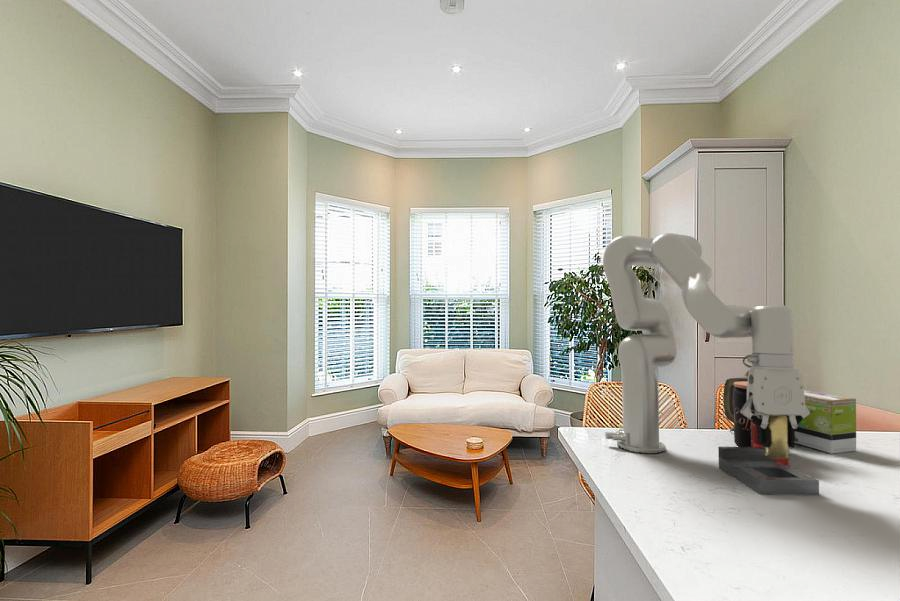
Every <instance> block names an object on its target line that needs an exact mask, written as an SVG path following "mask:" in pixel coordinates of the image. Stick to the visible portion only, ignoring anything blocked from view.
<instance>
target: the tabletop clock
mask: <svg viewBox="0 0 900 601" xmlns="http://www.w3.org/2000/svg"><path fill="white" fill-rule="evenodd" d="M748 356H752V354H747V355H746V356H744V357H743V358H742V364H743V365H744V366H745V367H747V368H749V369H748V370H747V371H746V372H745V374H744V376H743V377H731V378H727V379H726V380H725V383H724V386H723V410H724V414H725V417H726V419H727V420H728V421H730V422H731V423H733V424H734V391H735V389H736V388H735V386H734V382H741V381H748V375H749V370H750V367H753V365H752V364H751V365H749V364H747V363H746V362H745V361H746V360H747V357H748ZM729 431H730V432H731V431H734V427H731V428H730V429H729Z"/></svg>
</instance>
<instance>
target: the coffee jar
mask: <svg viewBox="0 0 900 601" xmlns="http://www.w3.org/2000/svg"><path fill="white" fill-rule="evenodd" d="M734 386H735V388H736V389H735V391H734V423H733V428H734V433H733V435H734V438H733V439H734V440H733V442H734V444H735V445H736V447H737V446H738V447H751V421H750V420H749V419H748V418H747V417H746V416H744V415H743V414H741V413H740V410H741V409H742V407H743V406H744V404H745V403H746V402H747V381H741V382H734ZM751 413H753V414H754V415H755V413H756V412H753V411H751Z"/></svg>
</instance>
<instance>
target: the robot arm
mask: <svg viewBox="0 0 900 601" xmlns="http://www.w3.org/2000/svg"><path fill="white" fill-rule="evenodd" d="M702 249H703V248H702V245H701V243H700V242H699V241H698V240H697V239H696V238H695V237H693V236H691V235H687V234H679V233H663V234H660V235H659V236H656V237H654V238H652V237H645V236H639V235H621V236H620V235H619V236H617V237H615V238H614V239H612V240H611V241H610V242H608V244H607V246H606V248H605V250H604V252H603V258H602V266H603V271H604V274H605V277H606V280H607V283H608V287H609V290H610V295H611V301H612V305H613V310H614V315H615V320H616V323H617V324H618V326H619V327H620V328H621V329H623V330H626V331H633V332H634V331H635V332H637V331H638V332H639V331H641V332H642V334H633V335H629V336H626V337H625V338H624V339H622V340H621V341H620V343H619V346H618V351H617V352H618V353H617V354H618V355H617V356H618V359H619V360H618V361H619V365H620V372H621V391H622V392H621V393H622V394H621V395H622V398H621V399H622V428H619V430H617V431H616V432H612V431H606V432H605V433H604V434H605V435H604V437H605V439H606V440H612V441H616V445H617V446H618V447H619V446H620V447H621V448H620V447H619V448H620V449H622V448H624V449H623V450H625V449H626V450H625V451H628V450H629V452H633V451H634V452H633V453H639V452H641V453H640V454H657V453H658V452H659V453H663V452H665V450H666V444H664V443H663V442H661V441H660V409H659V408H660V407H659V406H660V405H659V404H660V403H659V402H660V401H659V381H658V377H657V375H656V372H655V369H654V368H663V367H666V366H669V365H671V364H672V363H673V362H674V361H675V360H676V357H677V343H676V338H675V335H674V331H673V326H672V323H671V319H670V315H669V312H668V310H667V309H666V306H665V305H664V304H663V303H662V302H661V301H660V300H658V299H655V298H647V297H645V295H644V293H643V290H642V285H641V281H640V279H639V277H638V275H637V274H636V273H635V271H634V270H633V268H632V267H634V266H635V267H645V268H649V267H650V268H661V269H663V271H664V272H665V273H666V274H667V276H669V277H670V278H671V280H672V281H673V282H674V284H676V285H677V287H679V289H680V290H681V295H682V300H683V303H684V305H685V308H686V309H687V311H688V314H690V316H691V317H692V318H693V319H694V320H695V321H696V323H697V324H698V325H699V326H700V327H701V328H702V329H703V330H704V331H705V332H706V333H708V334H709V335H711V336H713V337H714V338H719V339H731V338H732V339H733V338H735V339H739V338H741V339H742V338H750V337H751V355H752V356H748V357H747V358H746V360H747V363H750V364H751V366H752V365H753V367H750V368H749V369H748V370H749V375H748V381H747V402H746V403H745V404H744V406H743V407H742V409H741V410H740V413H741V414H743V415H744V416H746V417H747V418H748V419H749V420H750V421H751V422H753V423H754V425H755V426H757V441H758V444H759V445H762V446H764V447H770V430H769V429H768V428H767V423H768V418H769V415H787V419H788V445H789V448H795V443H794V442H795V429H796V428H797V427H798V426H797V425H798V424H799V423H800V422H801V421H802V419H803V418H805V417H806V416H808V415H809V414H810V411H809V410H808V409H807V407H806V406H805V396H804V390H805V389H804V384H803V379H802V377H801V374H800V371H799V370H800V369H799V368H796V367H795V359H794V358H795V355H794V352H795V351H794V334H793V333H794V332H793V330H794V328H793V313H792V310H791V307H789V306H788V305H787V306H786V305H783V304H781V305H778V304H776V305H775V304H773V305H768V304H767V305H757V306H748V305H736V304H735V305H732V304H730V305H729V304H728V305H727V304H725V303H723V301H721V299H720V298H719V297H718V296H717V295H716V294H715V293H714V292H713V291H712V289H711V288H710V286H709V284H708V282H709V281H710V279H711V278H712V277H713V276H712V275H713V270H712V267H711V266H710V265H708V264H707V262H705V261H704V259H703V258H701V257H702V254H703V250H702ZM751 411H753V412H756V413H755V415H754V414H753V413H751ZM662 451H663V452H662ZM659 453H658V454H659Z"/></svg>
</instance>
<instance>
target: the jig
mask: <svg viewBox="0 0 900 601" xmlns="http://www.w3.org/2000/svg"><path fill="white" fill-rule="evenodd" d="M717 449H718V470H719V471H722V472H723V473H724V472H725V473H724V474H726V475H728V476H729V477H732V478H733V479H735V480H736V481H737V482H739V483H741V484H743V485H744V486H746V487H748V488H749V489H751V490H752V491H754V492H756V493H757V494H759V495H784V496H786V495H787V496H789V495H791V496H793V495H794V496H795V495H796V496H797V495H798V496H820V480H819V479H817V478H814V477H813V476H810V475H808V474H807V473H804V472H802V471H800V470H798V469H796V468H793V467H791V466H789V465H785V464H783V463H781V462H778V461H776V460H774V459H773V458H771V457H768V456H765V455H764V447H737V446H718V448H717Z"/></svg>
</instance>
